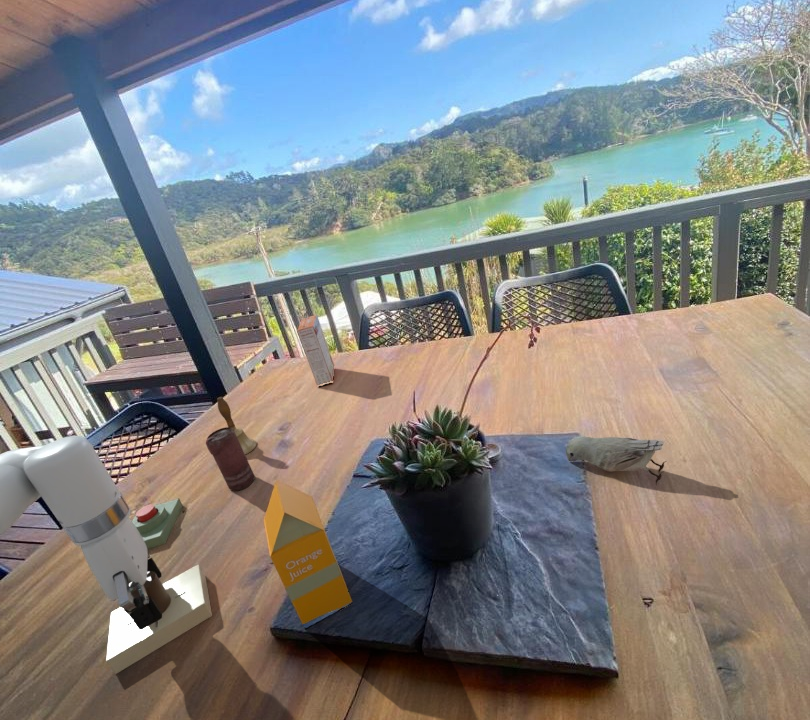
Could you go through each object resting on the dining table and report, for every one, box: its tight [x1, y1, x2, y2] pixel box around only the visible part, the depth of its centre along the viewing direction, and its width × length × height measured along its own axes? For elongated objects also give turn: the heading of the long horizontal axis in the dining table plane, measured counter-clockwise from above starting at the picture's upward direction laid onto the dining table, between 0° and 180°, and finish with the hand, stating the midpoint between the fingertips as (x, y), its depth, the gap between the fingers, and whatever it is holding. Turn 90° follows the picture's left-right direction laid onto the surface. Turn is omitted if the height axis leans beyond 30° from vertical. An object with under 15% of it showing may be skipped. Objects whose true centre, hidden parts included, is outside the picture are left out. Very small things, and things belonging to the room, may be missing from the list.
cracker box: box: [296, 314, 335, 386], centre depth 146 cm, size 14×6×21 cm, turn 6°
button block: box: [131, 497, 184, 550], centre depth 93 cm, size 12×8×4 cm, turn 10°
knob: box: [129, 571, 171, 613], centre depth 68 cm, size 4×4×6 cm
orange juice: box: [263, 478, 353, 625], centre depth 64 cm, size 8×9×20 cm
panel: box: [105, 564, 213, 675], centre depth 70 cm, size 14×10×3 cm
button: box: [135, 503, 157, 523], centre depth 92 cm, size 4×4×2 cm
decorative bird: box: [565, 435, 667, 486], centre depth 76 cm, size 5×16×8 cm, turn 55°
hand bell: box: [216, 396, 258, 456], centre depth 114 cm, size 8×8×16 cm
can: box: [205, 426, 255, 492], centre depth 99 cm, size 6×6×14 cm
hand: (151, 600), depth 69 cm, fingers open, 9 cm apart
